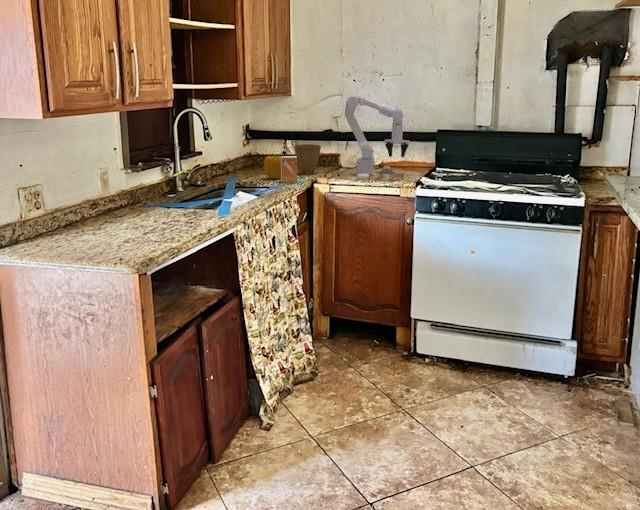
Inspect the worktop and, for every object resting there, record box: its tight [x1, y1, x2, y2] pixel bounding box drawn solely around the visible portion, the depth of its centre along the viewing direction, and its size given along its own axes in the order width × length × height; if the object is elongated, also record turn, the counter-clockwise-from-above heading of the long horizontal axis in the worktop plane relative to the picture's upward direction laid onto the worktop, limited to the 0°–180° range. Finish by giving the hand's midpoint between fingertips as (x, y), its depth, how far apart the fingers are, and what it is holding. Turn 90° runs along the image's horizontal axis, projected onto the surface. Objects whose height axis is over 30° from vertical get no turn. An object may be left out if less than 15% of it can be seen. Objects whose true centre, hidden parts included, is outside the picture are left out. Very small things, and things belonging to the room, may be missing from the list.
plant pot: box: [294, 143, 322, 175], centre depth 357 cm, size 15×15×16 cm
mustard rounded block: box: [263, 154, 282, 180], centre depth 338 cm, size 11×11×13 cm
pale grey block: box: [356, 173, 370, 181], centre depth 336 cm, size 6×6×3 cm
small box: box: [280, 155, 298, 184], centre depth 328 cm, size 8×6×13 cm
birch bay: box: [368, 170, 405, 183], centre depth 335 cm, size 14×12×4 cm
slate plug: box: [381, 165, 393, 175], centre depth 335 cm, size 4×4×7 cm
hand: (396, 156), depth 350 cm, fingers open, 7 cm apart
